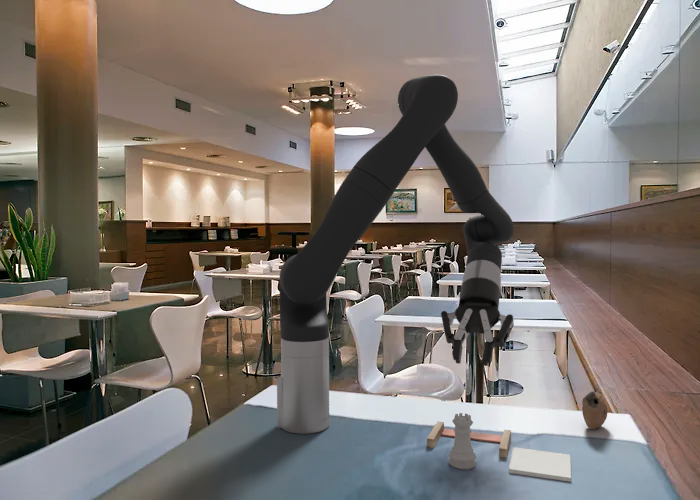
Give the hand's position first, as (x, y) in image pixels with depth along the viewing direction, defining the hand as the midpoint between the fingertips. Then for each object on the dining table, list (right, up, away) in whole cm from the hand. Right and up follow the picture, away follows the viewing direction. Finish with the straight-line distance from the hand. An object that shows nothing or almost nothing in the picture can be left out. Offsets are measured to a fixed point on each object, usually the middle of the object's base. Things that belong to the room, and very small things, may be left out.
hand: (471, 362), depth 98 cm
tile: (+9, -15, -10) cm, 20 cm away
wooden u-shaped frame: (-1, -14, -1) cm, 14 cm away
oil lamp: (+24, -14, +5) cm, 29 cm away
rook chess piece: (-4, -15, -10) cm, 18 cm away
